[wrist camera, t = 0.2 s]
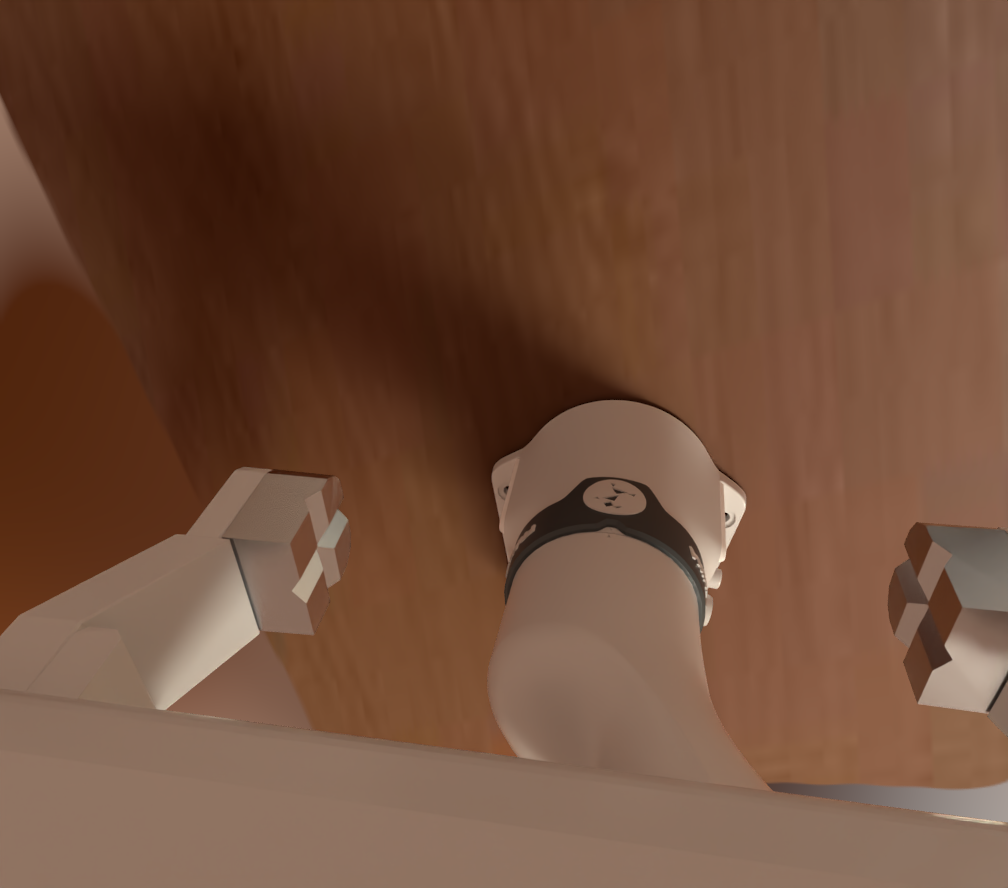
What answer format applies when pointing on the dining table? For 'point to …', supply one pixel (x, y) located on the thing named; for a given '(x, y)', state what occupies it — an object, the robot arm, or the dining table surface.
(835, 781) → the dining table surface
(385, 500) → the dining table surface
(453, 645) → the dining table surface
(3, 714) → the robot arm
